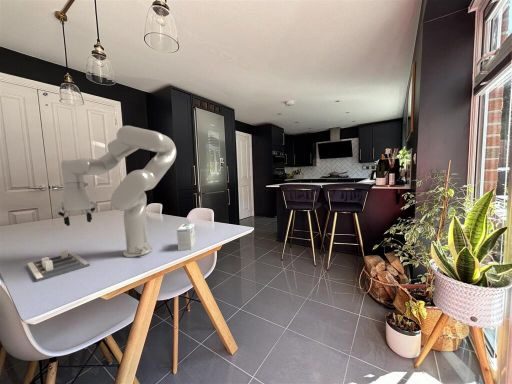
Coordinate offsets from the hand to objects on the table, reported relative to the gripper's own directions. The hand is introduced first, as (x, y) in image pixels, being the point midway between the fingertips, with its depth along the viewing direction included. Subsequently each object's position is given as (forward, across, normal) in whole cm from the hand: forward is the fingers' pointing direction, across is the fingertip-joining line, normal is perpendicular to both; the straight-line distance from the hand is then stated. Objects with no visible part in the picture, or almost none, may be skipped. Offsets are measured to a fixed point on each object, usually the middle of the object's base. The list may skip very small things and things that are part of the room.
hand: (78, 223), depth 102 cm
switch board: (+16, +10, +6) cm, 20 cm away
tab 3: (+15, +7, 0) cm, 16 cm away
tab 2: (+15, +13, +12) cm, 23 cm away
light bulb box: (+16, -35, +34) cm, 51 cm away
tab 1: (+15, +13, +6) cm, 21 cm away
